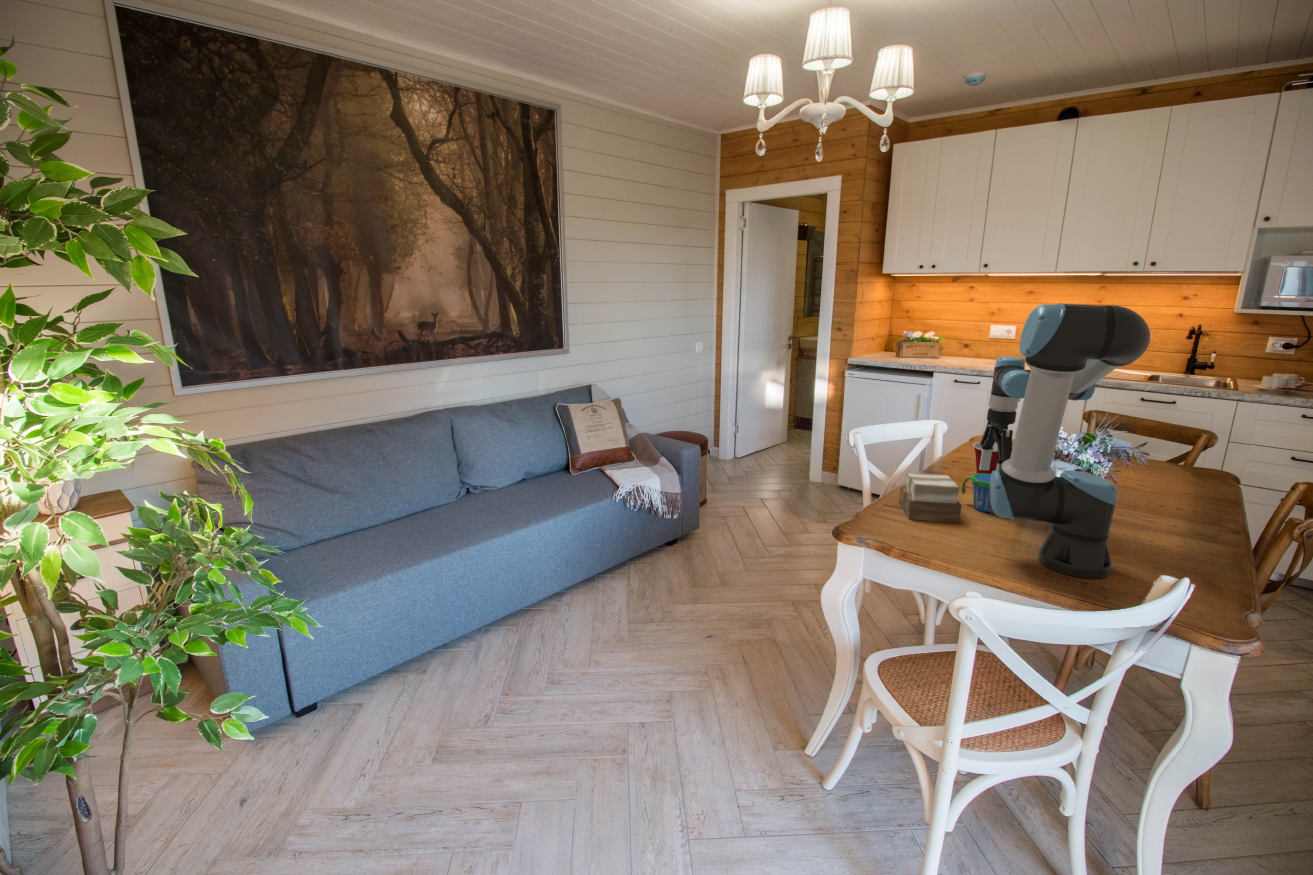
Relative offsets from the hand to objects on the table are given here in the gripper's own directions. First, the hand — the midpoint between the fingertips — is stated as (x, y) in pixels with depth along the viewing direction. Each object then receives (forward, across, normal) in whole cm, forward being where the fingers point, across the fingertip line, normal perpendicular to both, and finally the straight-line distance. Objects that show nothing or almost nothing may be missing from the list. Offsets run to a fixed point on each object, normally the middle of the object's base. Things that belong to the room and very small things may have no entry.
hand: (991, 476), depth 191 cm
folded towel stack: (+10, -8, +19) cm, 23 cm away
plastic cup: (+11, +35, -11) cm, 39 cm away
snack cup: (+11, -1, 0) cm, 11 cm away
